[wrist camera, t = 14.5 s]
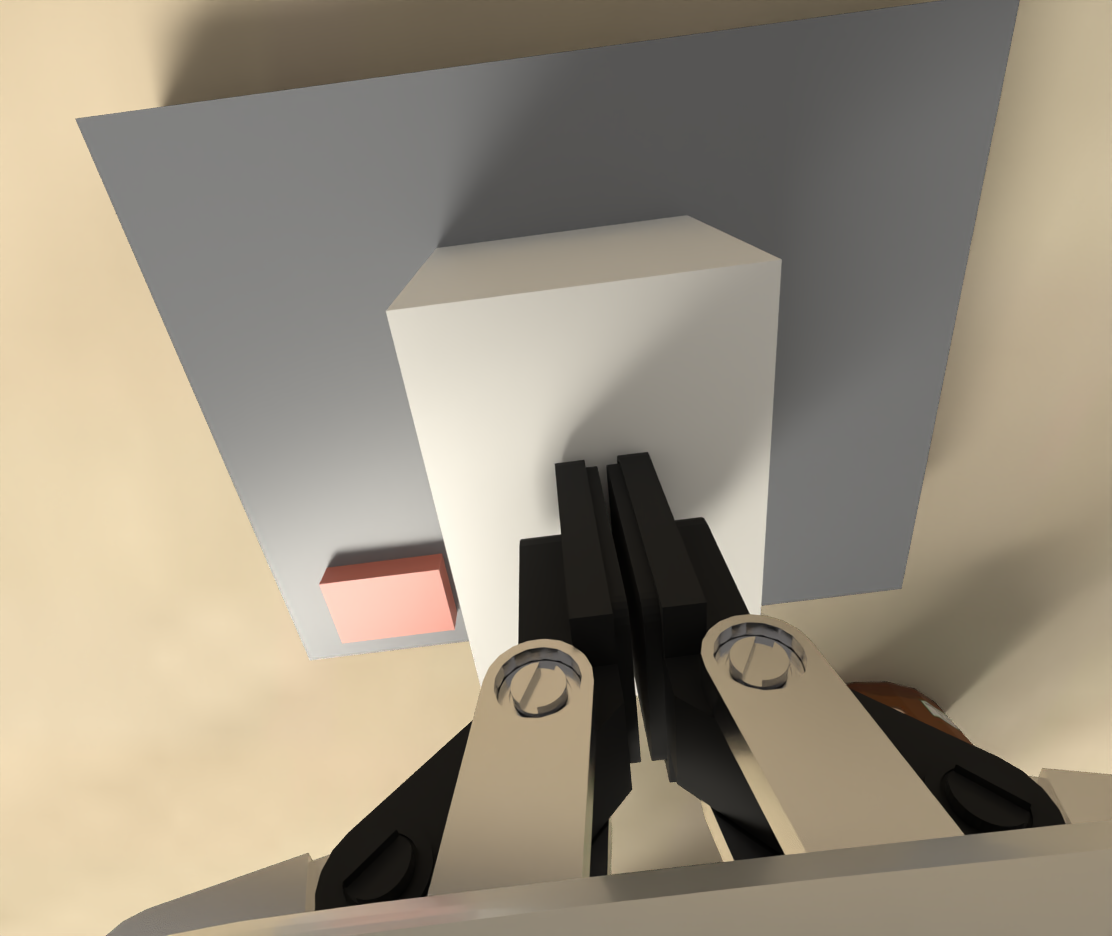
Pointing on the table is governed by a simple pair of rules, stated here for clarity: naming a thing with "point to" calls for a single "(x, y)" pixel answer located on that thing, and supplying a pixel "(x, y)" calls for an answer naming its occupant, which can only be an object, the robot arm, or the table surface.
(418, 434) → the plug
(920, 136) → the socket
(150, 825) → the table surface
